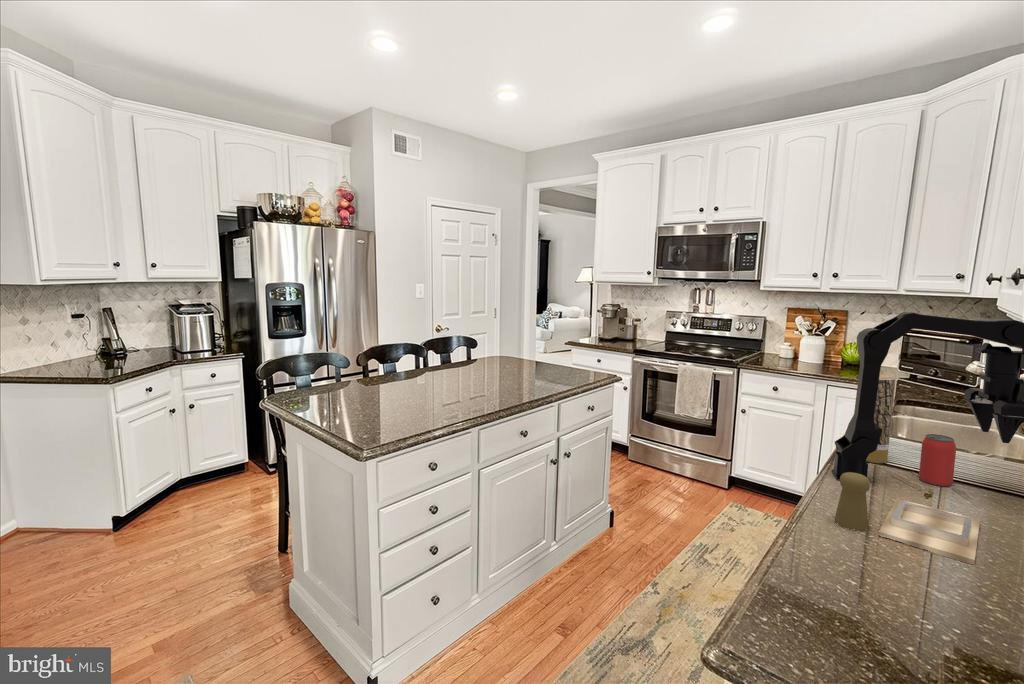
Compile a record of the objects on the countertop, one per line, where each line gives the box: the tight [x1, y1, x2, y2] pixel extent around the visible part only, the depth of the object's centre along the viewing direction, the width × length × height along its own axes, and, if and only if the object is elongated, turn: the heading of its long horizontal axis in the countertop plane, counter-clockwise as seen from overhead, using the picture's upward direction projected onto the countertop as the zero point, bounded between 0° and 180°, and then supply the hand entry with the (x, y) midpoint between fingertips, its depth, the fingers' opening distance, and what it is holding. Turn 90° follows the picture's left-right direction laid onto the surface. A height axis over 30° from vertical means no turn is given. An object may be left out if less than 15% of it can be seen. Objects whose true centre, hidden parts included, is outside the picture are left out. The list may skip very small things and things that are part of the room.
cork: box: [834, 472, 871, 531], centre depth 101 cm, size 6×6×11 cm
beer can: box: [918, 433, 957, 487], centre depth 122 cm, size 7×7×12 cm
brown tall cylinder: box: [866, 373, 895, 464], centre depth 137 cm, size 7×7×25 cm
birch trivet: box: [877, 498, 981, 566], centre depth 99 cm, size 14×22×1 cm, turn 134°
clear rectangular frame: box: [891, 501, 972, 546], centre depth 99 cm, size 12×12×2 cm
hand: (995, 437), depth 113 cm, fingers open, 9 cm apart
